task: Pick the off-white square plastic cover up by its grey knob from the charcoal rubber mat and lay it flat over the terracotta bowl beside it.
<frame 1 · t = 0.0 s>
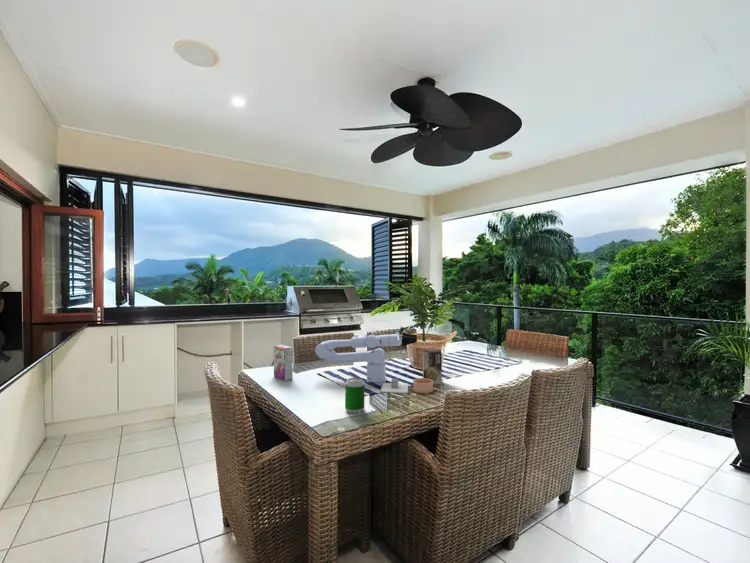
hand: (416, 338, 174), 22 cm above the table, tool horizontal, fingers open, 7 cm apart
cover: (394, 388, 163), resting on mat
mat: (394, 389, 163), on the table
bowl: (423, 390, 161), on the table
candy bar box: (282, 378, 180), on the table
soda can: (354, 411, 136), on the table
coffee box: (432, 383, 174), on the table
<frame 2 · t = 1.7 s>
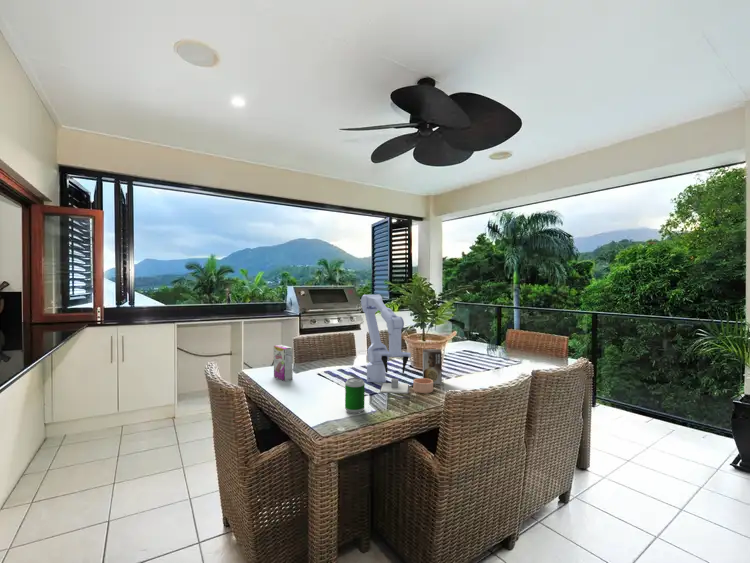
hand: (394, 372, 163), 8 cm above the table, tool pointing down, fingers open, 7 cm apart
nothing on the table moved.
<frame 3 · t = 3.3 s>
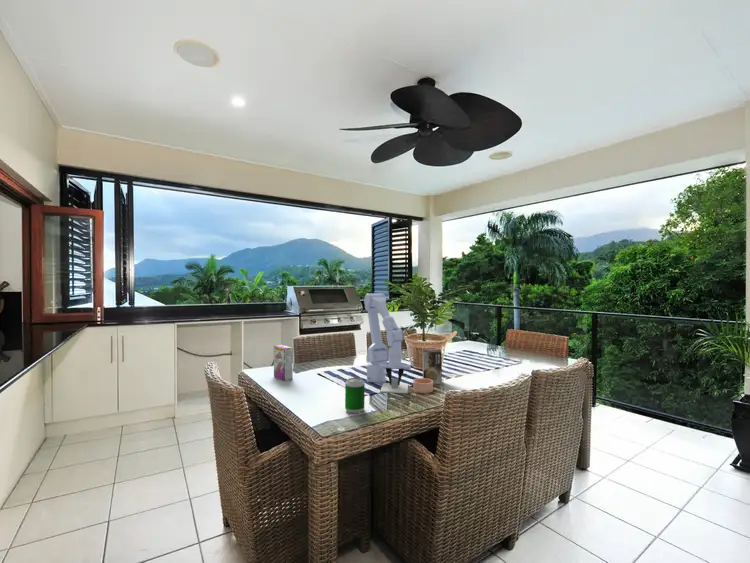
hand: (394, 384, 163), 2 cm above the table, tool pointing down, fingers closed on cover, 3 cm apart
cover: (394, 388, 163), resting on mat, touching gripper
everything else where it was.
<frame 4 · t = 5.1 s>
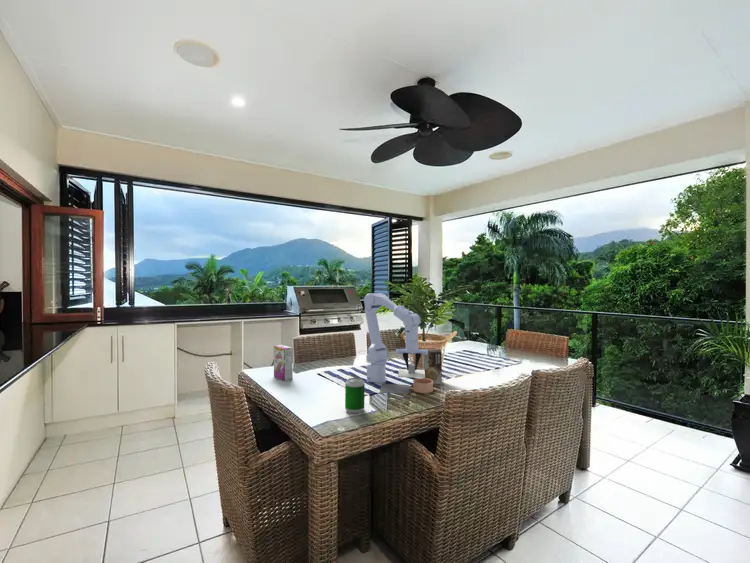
hand: (411, 369, 162), 10 cm above the table, tool pointing down, fingers closed on cover, 3 cm apart
cover: (411, 373, 161), point 8 cm above the table, touching gripper
everything else where it was.
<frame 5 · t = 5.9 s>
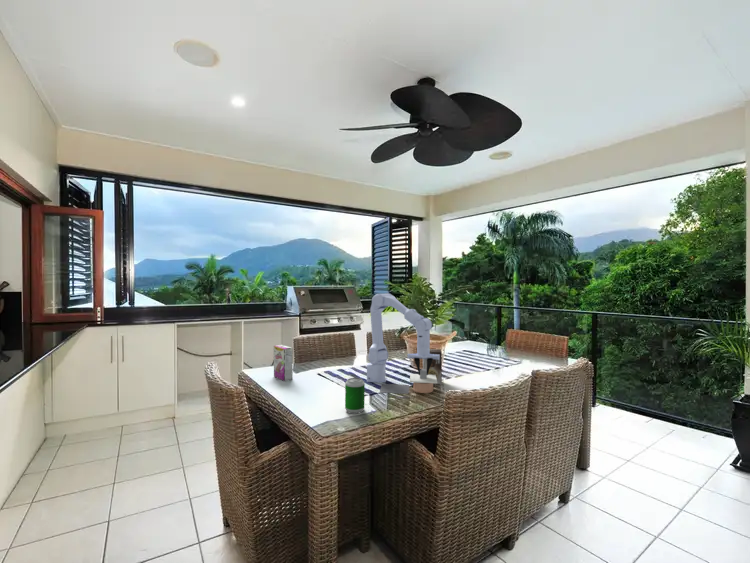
hand: (423, 374, 161), 7 cm above the table, tool pointing down, fingers closed on cover, 3 cm apart
cover: (423, 379, 161), point 5 cm above the table, touching gripper
everything else where it was.
when the fingers open (7 cm above the table, at t = 6.8 s): cover stays where it is, resting on bowl.
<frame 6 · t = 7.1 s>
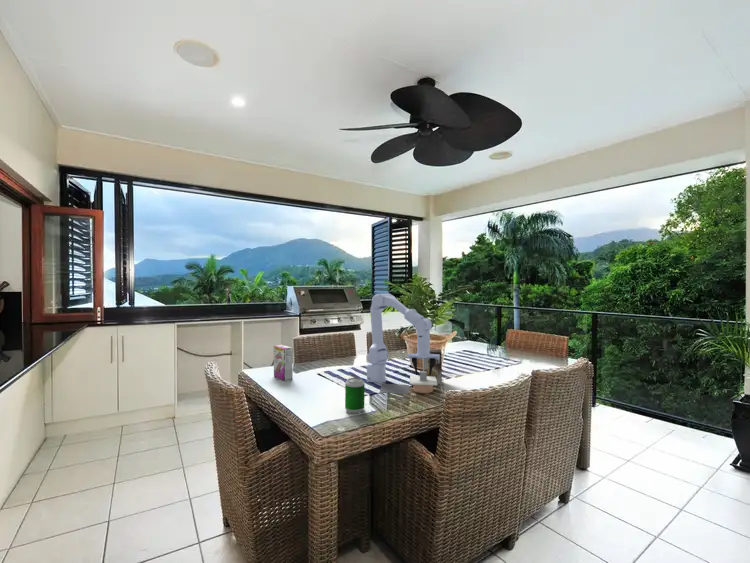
hand: (423, 374, 161), 7 cm above the table, tool pointing down, fingers open, 5 cm apart
cover: (423, 380, 161), point 4 cm above the table, touching bowl
everything else where it was.
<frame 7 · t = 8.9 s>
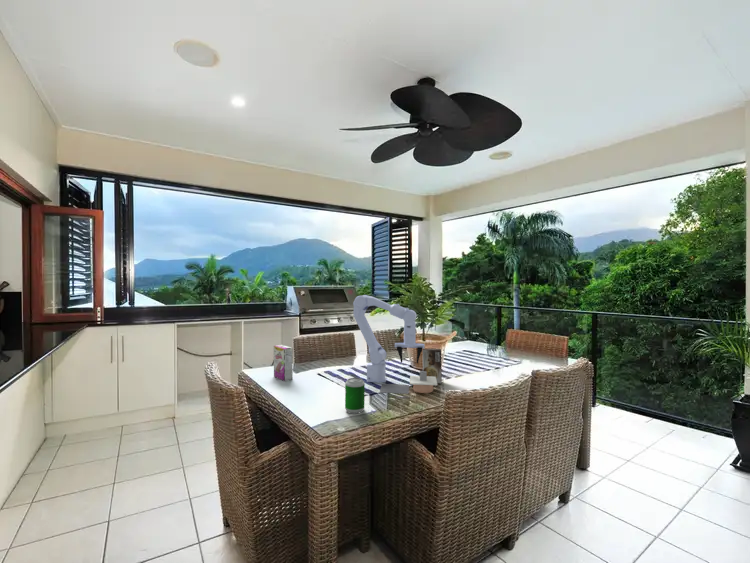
hand: (409, 362, 172), 10 cm above the table, tool pointing down, fingers open, 7 cm apart
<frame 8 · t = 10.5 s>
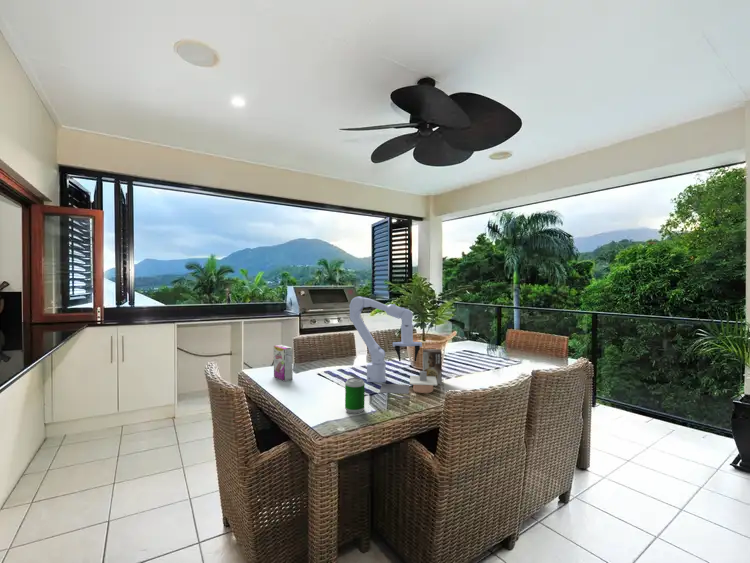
hand: (407, 361, 175), 10 cm above the table, tool pointing down, fingers open, 7 cm apart
at the end: cover 0.1 cm off-centre on the bowl, point 4.5 cm above the bowl's base; cover tilted 0°; cover touching bowl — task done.
